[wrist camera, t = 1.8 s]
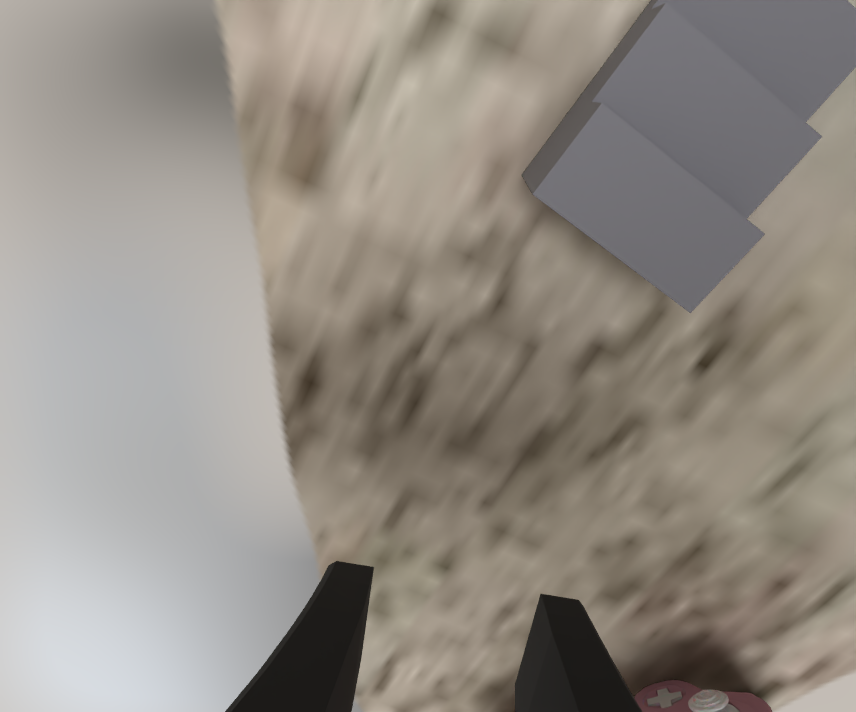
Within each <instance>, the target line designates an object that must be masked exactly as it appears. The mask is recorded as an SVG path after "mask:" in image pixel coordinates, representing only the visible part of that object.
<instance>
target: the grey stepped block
mask: <svg viewBox="0 0 856 712" xmlns="http://www.w3.org/2000/svg"><path fill="white" fill-rule="evenodd" d="M855 67H856V8H855V7H854V6H853V5H852V4H850V3H849V2H848V1H847V0H651V1H650V3H649V4H648V5H647V7H646V8H645V9H644V11H643V12H642V13H641V15H640V16H639V17H638V19H637V20H636V21H635V23H634V24H633V25H632V27H631V28H630V30H629V31H628V32H627V34H626V35H625V36H624V38H623V39H622V40H621V42H620V43H619V44H618V46H617V47H616V48H615V50H614V51H613V52H612V54H611V55H610V57H609V58H608V59H607V61H606V62H605V63H604V65H603V66H602V67H601V69H600V70H599V71H598V73H597V74H596V75H595V77H594V78H593V79H592V81H591V82H590V83H589V85H588V86H587V88H586V89H585V90H584V92H583V93H582V94H581V96H580V97H579V98H578V100H577V101H576V102H575V104H574V105H573V106H572V108H571V109H570V110H569V112H568V113H567V114H566V116H565V117H564V119H563V120H562V121H561V123H560V124H559V125H558V127H557V128H556V129H555V131H554V132H553V133H552V135H551V136H550V137H549V139H548V140H547V141H546V143H545V144H544V145H543V147H542V148H541V150H540V151H539V152H538V154H537V155H536V156H535V158H534V159H533V160H532V162H531V163H530V164H529V166H528V167H527V168H526V170H525V171H524V172H523V174H522V177H523V178H524V180H525V182H526V184H527V185H528V187H529V189H530V191H531V193H532V194H533V195H534V196H535V197H537V198H538V199H539V200H541V201H542V202H543V203H545V204H546V205H547V206H549V207H550V208H551V209H553V210H554V211H555V212H557V213H558V214H559V215H561V216H562V217H563V218H565V219H566V220H567V221H569V222H570V223H571V224H573V225H574V226H575V227H577V228H578V229H579V230H581V231H582V232H583V233H585V234H586V235H587V236H589V237H590V238H591V239H593V240H594V241H595V242H597V243H598V244H599V245H601V246H602V247H603V248H605V249H606V250H607V251H609V252H610V253H611V254H613V255H614V256H615V257H616V258H618V259H619V260H620V261H622V262H623V263H624V264H626V265H627V266H628V267H630V268H631V269H632V270H634V271H635V272H636V273H638V274H639V275H640V276H642V277H643V278H644V279H646V280H647V281H648V282H650V283H651V284H652V285H654V286H655V287H656V288H658V289H659V290H660V291H662V292H663V293H664V294H666V295H667V296H668V297H670V298H671V299H672V300H674V301H675V302H676V303H678V304H679V305H680V306H682V307H683V308H684V309H686V310H687V311H688V312H690V313H691V312H692V311H693V310H694V309H695V308H696V307H697V306H698V305H699V304H700V302H701V301H702V300H703V299H704V298H705V297H706V296H707V295H708V294H709V293H710V292H711V291H712V290H713V289H714V288H715V287H716V286H717V284H718V283H719V282H720V281H721V280H722V279H723V278H724V277H725V276H726V275H727V274H728V273H729V272H730V271H731V270H732V269H733V267H734V266H735V265H736V264H737V263H738V262H739V261H740V260H741V259H742V258H743V257H744V256H745V255H746V254H747V253H748V252H749V250H750V249H751V248H752V247H753V246H754V245H755V244H756V243H757V242H758V241H759V240H760V239H761V238H762V237H763V236H764V235H765V234H764V233H763V232H762V231H761V230H759V229H758V228H757V227H756V226H755V225H753V224H752V223H751V222H750V221H748V220H747V218H748V217H749V216H750V215H751V213H752V212H753V211H754V210H755V209H756V208H757V207H758V206H759V205H760V204H761V203H762V202H763V200H764V199H765V198H766V197H767V196H768V195H769V194H770V193H771V192H772V191H773V190H774V188H775V187H776V186H777V185H778V184H779V183H780V182H781V181H782V180H783V179H784V178H785V176H786V175H787V174H788V173H789V172H790V171H791V170H792V169H793V168H794V167H795V166H796V165H797V163H798V162H799V161H800V160H801V159H802V158H803V157H804V156H805V155H806V154H807V153H808V151H809V150H810V149H811V148H812V147H813V146H814V145H815V144H816V143H817V142H818V141H819V140H820V138H821V137H822V136H821V135H820V134H819V133H817V132H816V131H815V130H814V129H813V128H812V127H810V126H809V125H808V124H807V123H806V122H807V120H808V119H809V118H810V117H811V116H812V115H813V114H814V113H815V112H816V110H817V109H818V108H819V107H820V106H821V105H822V104H823V103H824V102H825V100H826V99H827V98H828V97H829V96H830V95H831V94H832V93H833V92H834V90H835V89H836V88H837V87H838V86H839V85H840V84H841V83H842V82H843V80H844V79H845V78H846V77H847V76H848V75H849V74H850V73H851V72H852V70H853V69H854V68H855Z"/></svg>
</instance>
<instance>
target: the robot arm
mask: <svg viewBox="0 0 856 712" xmlns="http://www.w3.org/2000/svg"><path fill="white" fill-rule="evenodd" d="M373 570H374V567H370V566H364V565H357V564H351V563H345V562H339V561H336V562H334V563H332V564H330V565H329V566H328V568H327V570H326V572H325V574H324V576H323V578H322V580H321V581H320V583H319V585H318V587H317V588H316V590H315V592H314V593H313V595H312V597H311V598H310V600H309V601H308V603H307V605H306V606H305V608H304V609H303V611H302V612H301V614H300V615H299V616H298V618H297V619H296V621H295V622H294V624H293V625H292V627H291V628H290V630H289V631H288V632H287V634H286V635H285V637H284V638H283V639H282V641H281V642H280V643H279V645H278V646H277V647H276V649H275V650H274V651H273V653H272V654H271V655H270V657H269V658H268V660H267V661H266V662H265V663H264V665H263V666H262V667H261V669H260V670H259V671H258V673H257V674H256V675H255V676H254V678H253V679H252V680H251V681H250V683H249V684H248V685H247V686H246V687H245V688H244V690H243V691H242V692H241V693H240V694H239V696H238V697H237V698H236V699H235V700H234V702H233V703H232V704H231V705H230V706H229V708H228V709H227V710H226V711H225V712H351V711H352V705H353V700H354V695H355V689H356V684H357V678H358V673H359V668H360V662H361V656H362V649H363V641H364V634H365V627H366V620H367V613H368V606H369V598H370V591H371V584H372V577H373ZM515 712H642V710H641V708H640V707H639V705H638V704H637V702H636V700H635V699H634V697H633V695H632V693H631V692H630V690H629V688H628V687H627V685H626V683H625V681H624V680H623V678H622V676H621V674H620V673H619V671H618V669H617V667H616V666H615V664H614V662H613V660H612V658H611V657H610V655H609V653H608V651H607V649H606V648H605V646H604V644H603V642H602V640H601V638H600V637H599V635H598V633H597V631H596V629H595V627H594V625H593V623H592V622H591V620H590V618H589V616H588V614H587V612H586V610H585V608H584V607H583V605H582V604H581V602H580V601H579V600H576V599H569V598H563V597H557V596H551V595H544V594H541V595H540V598H539V602H538V605H537V609H536V612H535V616H534V619H533V623H532V627H531V630H530V634H529V637H528V641H527V644H526V648H525V651H524V655H523V658H522V662H521V665H520V669H519V673H518V676H517V680H516V683H515Z"/></svg>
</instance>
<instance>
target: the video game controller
mask: <svg viewBox="0 0 856 712" xmlns="http://www.w3.org/2000/svg"><path fill="white" fill-rule="evenodd" d="M634 699H635V700H636V702H637V704H638V705H639V707H640V708H641V710H642V712H772V710H771V708H770V706H769V705H768V704H767V703H766V702H765V701H764V700H762V699H761V698H759V697H757V696H755V695H753V694H752V693H747V692H743V693H742V692H721V691H719V690H709V689H708V690H702V689H700V688H698V687H696V686H694V685H692V684H690V683H687V682H685V681H680V680H668V681H663V682H659V683H655V684H651V685H649V686H647V687H644V688H643V689H642V690H641V691H639V692H638V693H637V694H636V695H635V698H634Z"/></svg>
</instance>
